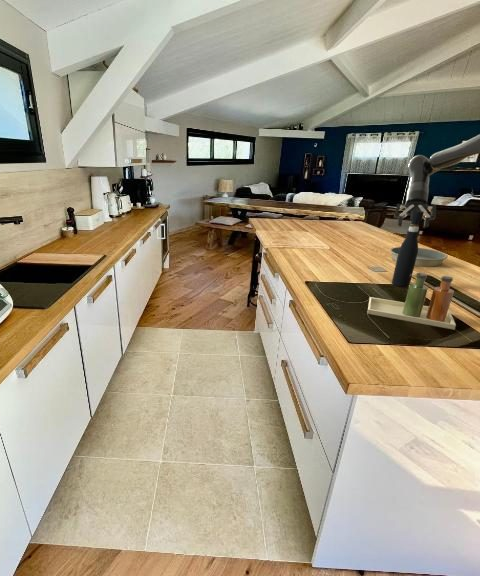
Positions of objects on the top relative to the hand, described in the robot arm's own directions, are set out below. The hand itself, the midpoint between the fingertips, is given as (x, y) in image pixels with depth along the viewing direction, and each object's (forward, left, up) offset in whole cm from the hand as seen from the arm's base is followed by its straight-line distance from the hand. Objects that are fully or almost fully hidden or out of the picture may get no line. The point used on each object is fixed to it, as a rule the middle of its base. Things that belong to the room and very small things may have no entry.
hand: (412, 226), depth 129 cm
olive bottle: (-2, +40, -23) cm, 46 cm away
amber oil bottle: (-8, +40, -23) cm, 47 cm away
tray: (-1, +40, -23) cm, 46 cm away
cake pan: (-8, -37, -23) cm, 44 cm away
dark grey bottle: (0, +7, -23) cm, 24 cm away
